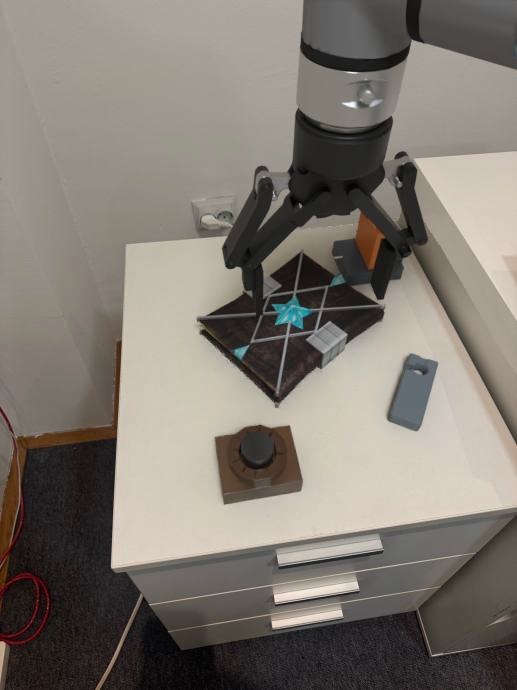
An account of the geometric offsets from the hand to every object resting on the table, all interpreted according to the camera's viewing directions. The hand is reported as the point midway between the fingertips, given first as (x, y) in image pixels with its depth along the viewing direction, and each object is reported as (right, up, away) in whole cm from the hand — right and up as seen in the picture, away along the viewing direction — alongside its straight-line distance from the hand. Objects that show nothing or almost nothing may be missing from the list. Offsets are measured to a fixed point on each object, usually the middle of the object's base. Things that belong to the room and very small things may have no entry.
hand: (317, 298), depth 54 cm
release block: (-7, -20, +4) cm, 21 cm away
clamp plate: (+11, +8, +25) cm, 28 cm away
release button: (-7, -17, 0) cm, 18 cm away
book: (-2, -3, +17) cm, 17 cm away
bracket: (+14, -12, +10) cm, 21 cm away
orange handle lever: (+11, +9, +23) cm, 27 cm away
